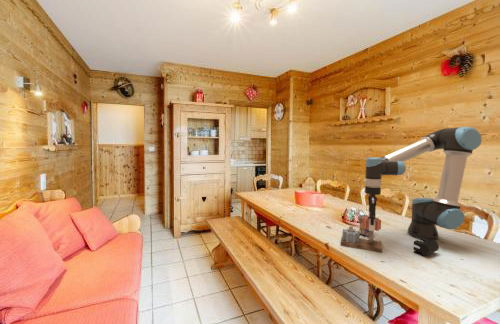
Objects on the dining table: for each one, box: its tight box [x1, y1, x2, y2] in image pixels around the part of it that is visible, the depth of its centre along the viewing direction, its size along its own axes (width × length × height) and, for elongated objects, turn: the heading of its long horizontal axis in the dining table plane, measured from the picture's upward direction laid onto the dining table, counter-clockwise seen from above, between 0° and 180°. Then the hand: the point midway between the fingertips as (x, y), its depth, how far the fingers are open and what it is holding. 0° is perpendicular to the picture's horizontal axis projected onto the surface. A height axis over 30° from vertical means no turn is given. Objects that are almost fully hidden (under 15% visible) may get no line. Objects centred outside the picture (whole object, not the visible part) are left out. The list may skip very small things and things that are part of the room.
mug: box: [357, 214, 369, 237], centre depth 146 cm, size 12×9×11 cm
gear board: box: [340, 225, 383, 253], centre depth 129 cm, size 20×10×10 cm, turn 65°
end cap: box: [412, 238, 440, 257], centre depth 119 cm, size 10×7×7 cm
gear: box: [341, 227, 361, 243], centre depth 131 cm, size 9×9×5 cm
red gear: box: [362, 216, 382, 232], centre depth 126 cm, size 9×9×5 cm
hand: (371, 227), depth 126 cm, fingers closed on red gear, 9 cm apart
